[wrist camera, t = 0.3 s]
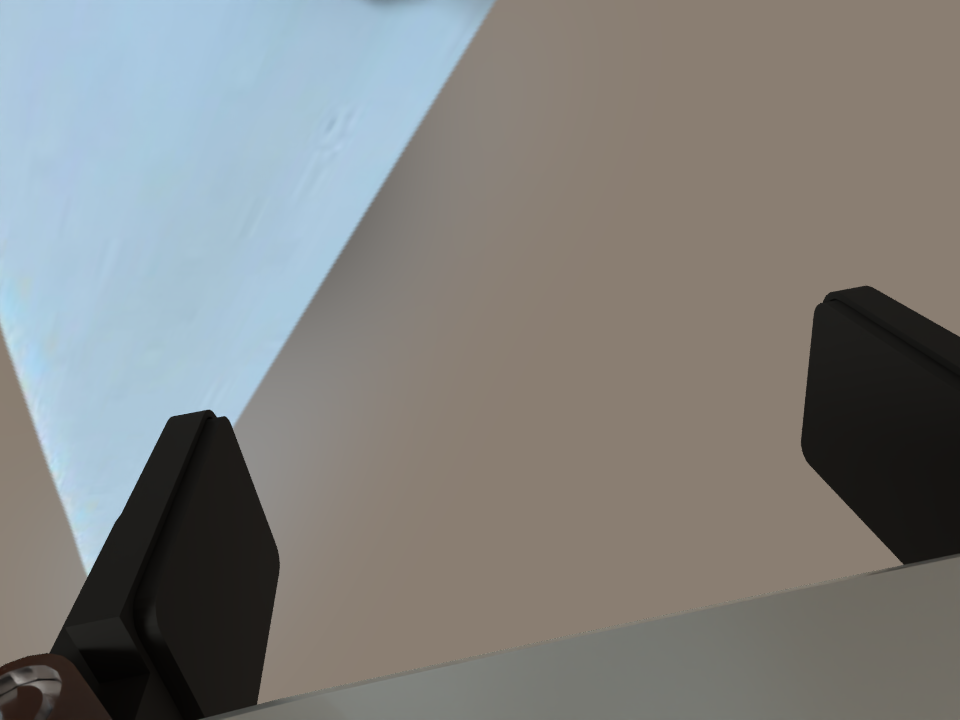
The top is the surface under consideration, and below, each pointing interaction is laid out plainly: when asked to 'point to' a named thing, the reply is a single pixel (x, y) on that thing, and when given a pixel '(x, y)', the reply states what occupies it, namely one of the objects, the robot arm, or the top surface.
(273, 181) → the top surface
